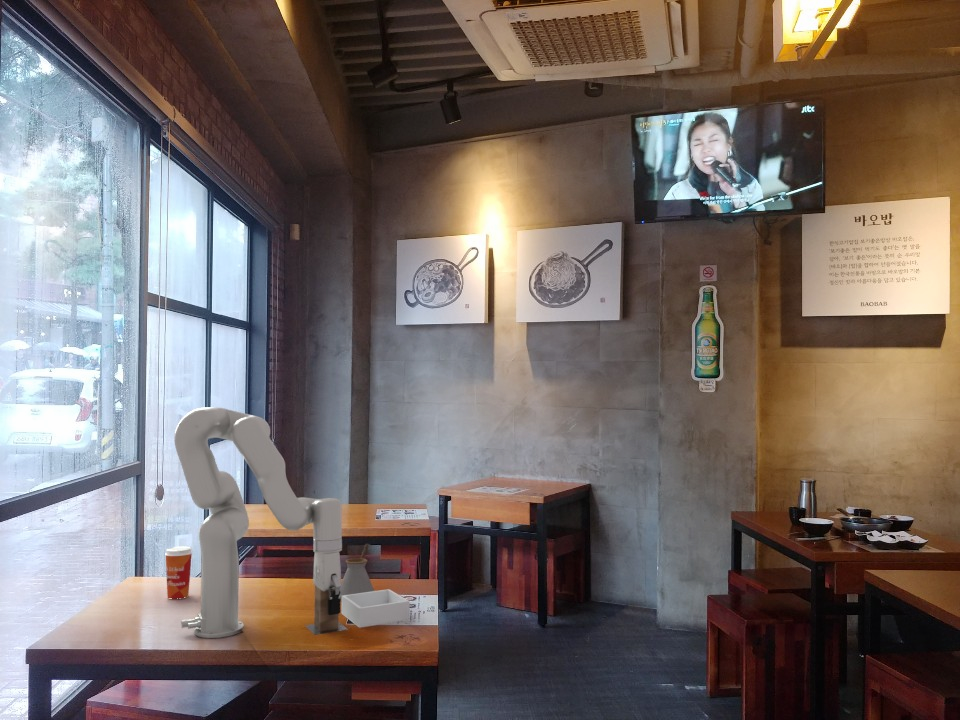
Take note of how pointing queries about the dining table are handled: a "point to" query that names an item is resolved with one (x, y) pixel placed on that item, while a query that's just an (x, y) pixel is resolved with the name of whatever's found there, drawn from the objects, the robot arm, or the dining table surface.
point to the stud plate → (316, 631)
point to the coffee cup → (178, 571)
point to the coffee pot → (356, 576)
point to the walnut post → (323, 612)
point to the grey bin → (375, 608)
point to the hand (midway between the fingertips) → (328, 609)
